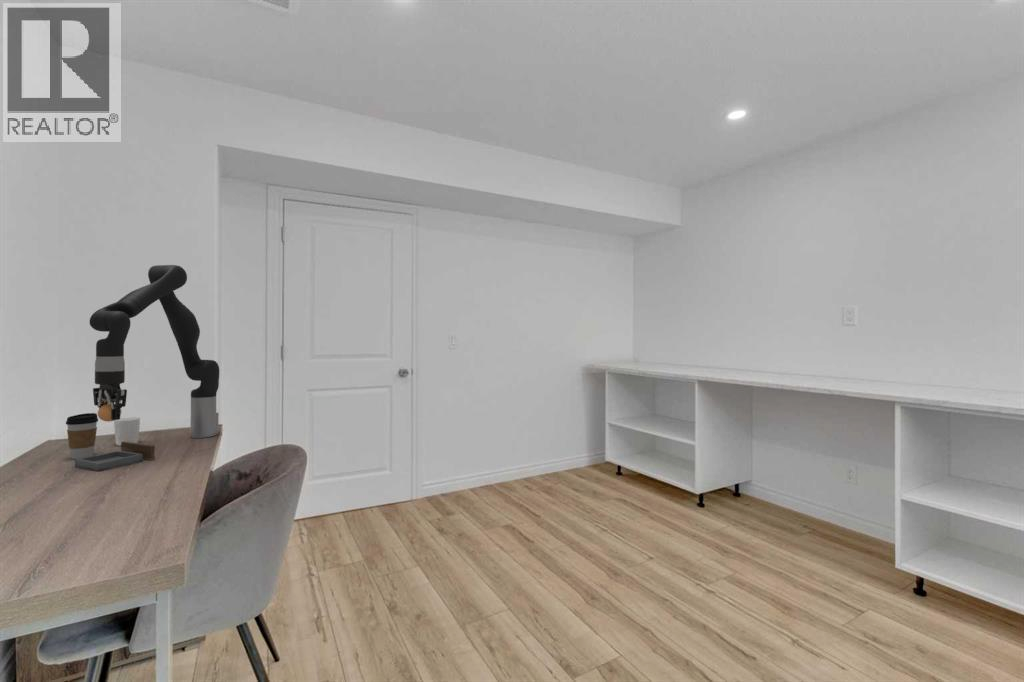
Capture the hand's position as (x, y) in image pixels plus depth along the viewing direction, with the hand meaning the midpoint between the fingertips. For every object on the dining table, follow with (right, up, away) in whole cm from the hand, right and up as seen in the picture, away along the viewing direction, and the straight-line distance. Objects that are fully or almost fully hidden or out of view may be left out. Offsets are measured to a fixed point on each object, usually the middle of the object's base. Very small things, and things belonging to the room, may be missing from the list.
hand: (109, 418), depth 151 cm
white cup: (-18, -15, +28) cm, 36 cm away
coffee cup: (-17, -15, +8) cm, 25 cm away
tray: (0, -15, 0) cm, 15 cm away
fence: (+3, -15, +8) cm, 18 cm away
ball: (0, -1, 0) cm, 1 cm away
